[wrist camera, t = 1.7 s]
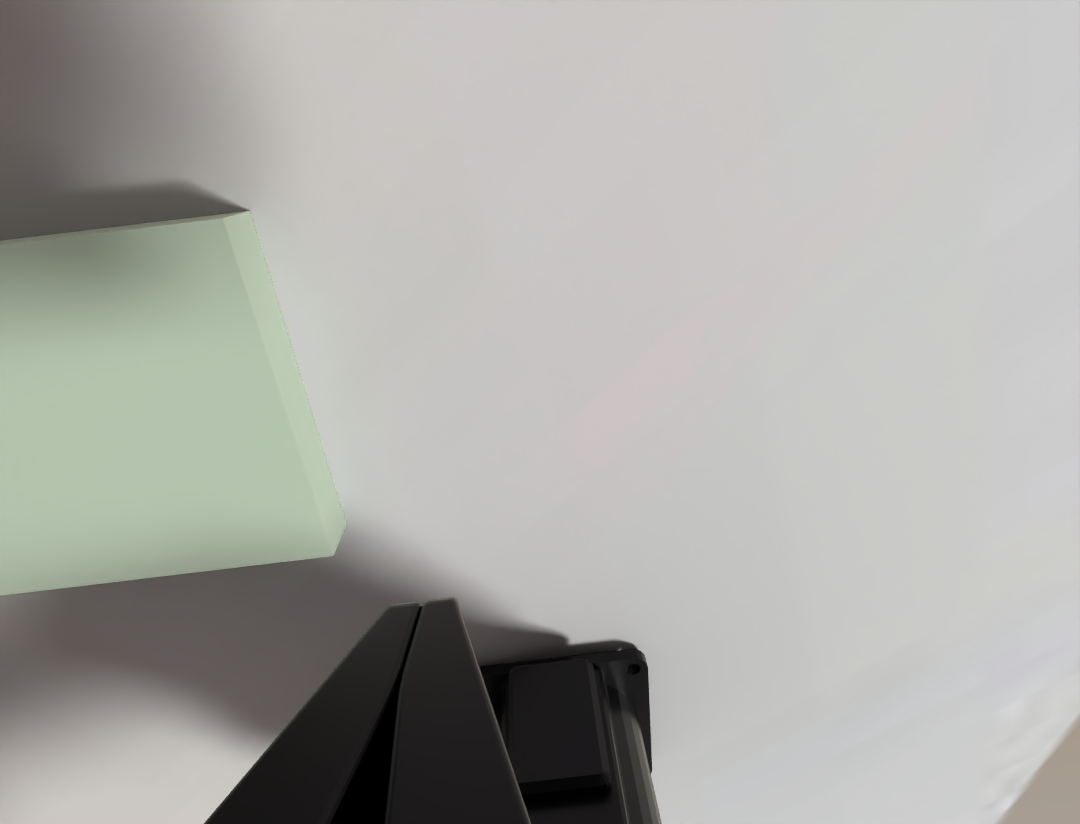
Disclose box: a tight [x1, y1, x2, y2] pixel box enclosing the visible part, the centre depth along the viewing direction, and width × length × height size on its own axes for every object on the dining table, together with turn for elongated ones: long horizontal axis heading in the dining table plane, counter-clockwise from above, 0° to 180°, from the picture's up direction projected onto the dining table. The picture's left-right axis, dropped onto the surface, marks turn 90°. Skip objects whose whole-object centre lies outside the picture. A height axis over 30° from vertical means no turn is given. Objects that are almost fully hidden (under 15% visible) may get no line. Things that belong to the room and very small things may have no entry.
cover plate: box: [0, 211, 347, 596], centre depth 15 cm, size 9×11×2 cm
